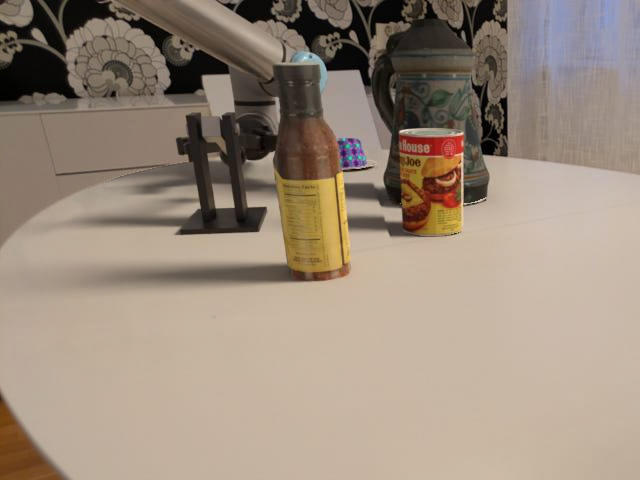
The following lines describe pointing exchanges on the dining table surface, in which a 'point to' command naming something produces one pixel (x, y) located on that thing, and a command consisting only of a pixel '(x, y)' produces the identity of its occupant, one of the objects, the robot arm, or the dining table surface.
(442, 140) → the canned food
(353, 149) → the pudding
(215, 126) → the lever
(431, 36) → the beer stein
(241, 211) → the bracket
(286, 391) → the dining table surface
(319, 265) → the sauce bottle
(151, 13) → the robot arm
